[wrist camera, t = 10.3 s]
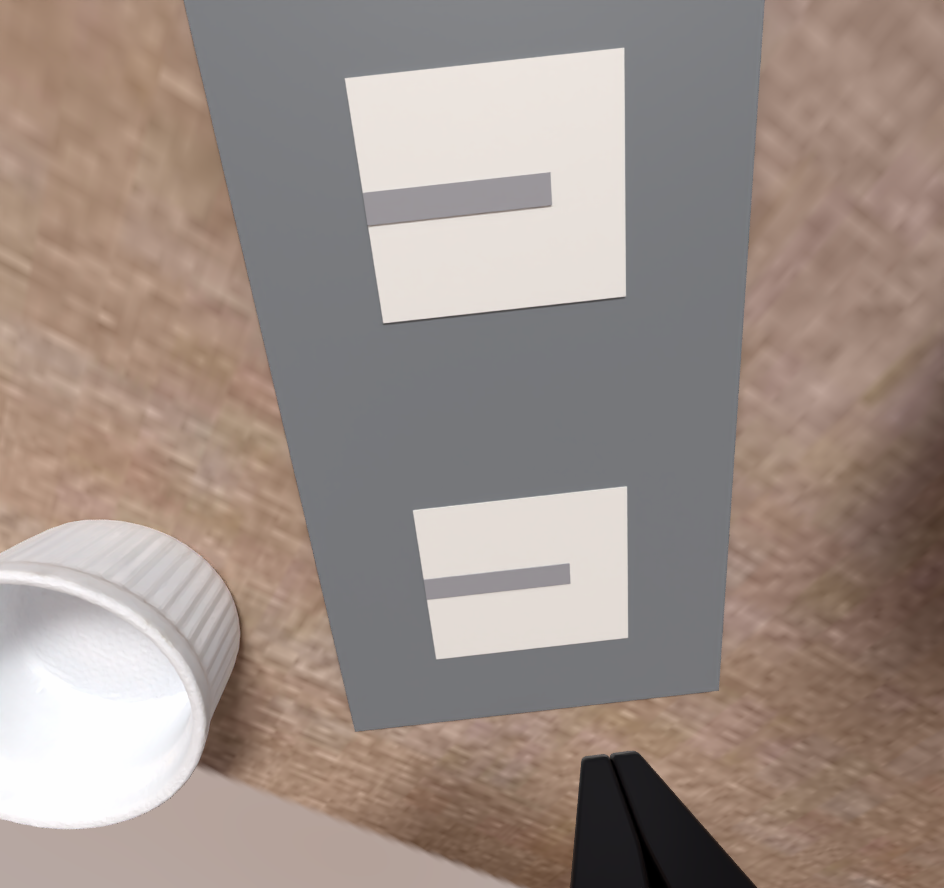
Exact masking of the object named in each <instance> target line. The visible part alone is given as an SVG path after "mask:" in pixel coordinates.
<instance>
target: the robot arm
mask: <svg viewBox="0 0 944 888" xmlns="http://www.w3.org/2000/svg"><path fill="white" fill-rule="evenodd" d="M570 888H757V887H756V886H755V885H754V883H753V882H752V881H751V880H750V879H749V878H748V877H747V876H746V874H745V873H744V872H743V871H742V870H741V869H740V868H739V866H738V865H737V864H736V863H735V862H734V861H733V860H732V858H731V857H730V856H729V855H728V854H727V853H726V852H725V850H724V849H723V848H722V847H721V846H720V845H719V844H718V842H717V841H716V840H715V839H714V838H713V837H712V836H711V834H710V833H709V832H708V831H707V830H706V829H705V828H704V826H703V825H702V824H701V823H700V822H699V821H698V820H697V819H696V817H695V816H694V815H693V814H692V813H691V812H690V811H689V809H688V808H687V807H686V806H685V805H684V804H683V803H682V801H681V800H680V799H679V798H678V797H677V796H676V795H675V793H674V792H673V791H672V790H671V789H670V788H669V787H668V785H667V784H666V783H665V782H664V781H663V780H662V779H661V777H660V776H659V775H658V774H657V773H656V772H655V771H654V770H653V768H652V767H651V766H650V765H649V764H648V763H647V762H646V760H645V759H644V758H643V757H642V756H641V755H640V754H639V753H638V752H636V751H626V752H618V753H613V754H611V755H610V758H609V756H607V755H605V754H601V755H593V756H585V757H584V758H583V759H582V761H581V770H580V782H579V793H578V804H577V816H576V827H575V838H574V849H573V861H572V872H571V883H570Z"/></svg>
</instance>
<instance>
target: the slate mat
mask: <svg viewBox="0 0 944 888" xmlns="http://www.w3.org/2000/svg"><path fill="white" fill-rule="evenodd" d="M764 3H765V0H184V4H185V8H186V12H187V17H188V21H189V25H190V30H191V34H192V38H193V42H194V47H195V51H196V55H197V59H198V64H199V68H200V72H201V76H202V81H203V85H204V89H205V93H206V98H207V102H208V106H209V111H210V115H211V119H212V123H213V128H214V132H215V136H216V140H217V145H218V149H219V153H220V157H221V162H222V166H223V170H224V174H225V179H226V183H227V187H228V191H229V196H230V200H231V204H232V209H233V213H234V217H235V221H236V226H237V230H238V234H239V238H240V243H241V247H242V251H243V255H244V260H245V264H246V268H247V272H248V277H249V281H250V285H251V289H252V294H253V298H254V302H255V307H256V311H257V315H258V319H259V324H260V328H261V332H262V336H263V341H264V345H265V349H266V353H267V358H268V362H269V366H270V370H271V375H272V379H273V383H274V387H275V392H276V396H277V400H278V405H279V409H280V413H281V417H282V422H283V426H284V430H285V434H286V439H287V443H288V447H289V451H290V456H291V460H292V464H293V468H294V473H295V477H296V481H297V485H298V490H299V494H300V498H301V503H302V507H303V511H304V515H305V520H306V524H307V528H308V532H309V537H310V541H311V545H312V549H313V554H314V558H315V562H316V566H317V571H318V575H319V579H320V584H321V588H322V592H323V596H324V601H325V605H326V609H327V613H328V618H329V622H330V626H331V630H332V635H333V639H334V643H335V647H336V652H337V656H338V660H339V664H340V669H341V673H342V677H343V682H344V686H345V690H346V694H347V699H348V703H349V707H350V711H351V716H352V720H353V724H354V728H355V732H356V731H365V730H374V729H383V728H391V727H400V726H409V725H418V724H427V723H436V722H445V721H453V720H462V719H471V718H480V717H489V716H498V715H506V714H515V713H524V712H533V711H542V710H551V709H560V708H568V707H577V706H586V705H595V704H604V703H613V702H621V701H630V700H639V699H648V698H657V697H666V696H675V695H683V694H692V693H701V692H710V691H719V678H720V663H721V648H722V633H723V618H724V603H725V588H726V573H727V558H728V543H729V528H730V513H731V498H732V483H733V468H734V453H735V438H736V423H737V408H738V393H739V378H740V363H741V348H742V333H743V318H744V303H745V288H746V273H747V258H748V243H749V228H750V213H751V198H752V183H753V168H754V153H755V138H756V123H757V108H758V93H759V78H760V63H761V48H762V33H763V18H764Z"/></svg>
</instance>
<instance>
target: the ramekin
mask: <svg viewBox="0 0 944 888" xmlns="http://www.w3.org/2000/svg"><path fill="white" fill-rule="evenodd" d="M239 643H240V626H239V617H238V613H237V609H236V606H235V603H234V600H233V598H232V595H231V593H230V591H229V589H228V588H227V586H226V584H225V583H224V581H223V579H222V578H221V577H220V576H219V574H218V573H217V572H216V571H215V569H214V568H213V567H212V566H211V565H210V564H209V563H208V562H207V561H206V560H205V559H204V558H203V557H202V556H201V555H199V554H198V553H197V552H195V551H194V550H193V549H191V548H190V547H189V546H187V545H186V544H184V543H182V542H180V541H179V540H177V539H175V538H174V537H172V536H169V535H167V534H165V533H163V532H161V531H158V530H155V529H152V528H149V527H146V526H143V525H138V524H134V523H129V522H124V521H115V520H104V519H103V520H82V521H75V522H69V523H65V524H62V525H60V526H57V527H54V528H51V529H48V530H46V531H44V532H42V533H40V534H38V535H36V536H33V537H31V538H29V539H27V540H25V541H23V542H21V543H19V544H17V545H15V546H13V547H11V548H10V549H8V550H6V551H4V552H2V553H0V819H2V820H9V821H11V822H16V823H19V824H26V825H30V826H36V827H41V828H54V829H85V828H94V827H102V826H107V825H113V824H116V823H119V822H123V821H126V820H130V819H133V818H135V817H138V816H140V815H142V814H145V813H147V812H149V811H151V810H152V809H154V808H156V807H158V806H160V805H161V804H163V803H165V801H167V800H168V799H169V798H171V797H172V796H173V795H174V794H175V793H176V792H177V791H178V790H179V789H180V788H181V787H182V786H183V785H184V784H185V783H186V781H187V780H188V779H189V778H190V776H191V775H192V773H193V772H194V770H195V768H196V766H197V764H198V762H199V760H200V758H201V755H202V752H203V750H204V747H205V743H206V740H207V736H208V732H209V727H210V721H211V718H212V716H213V714H214V711H215V709H216V707H217V704H218V702H219V700H220V698H221V695H222V693H223V691H224V689H225V687H226V684H227V682H228V680H229V677H230V675H231V673H232V670H233V668H234V665H235V661H236V657H237V654H238V650H239Z"/></svg>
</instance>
